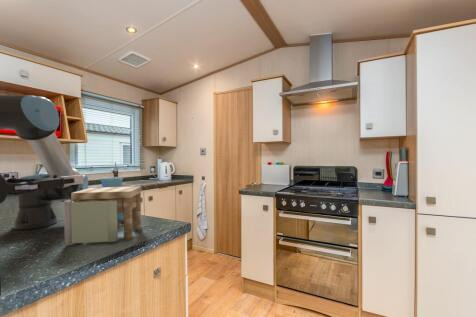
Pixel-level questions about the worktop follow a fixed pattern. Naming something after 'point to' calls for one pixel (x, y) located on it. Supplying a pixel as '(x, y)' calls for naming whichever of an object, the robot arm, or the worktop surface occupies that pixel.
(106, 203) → the pale green flat panel
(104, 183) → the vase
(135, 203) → the stool
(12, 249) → the worktop surface
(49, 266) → the worktop surface
